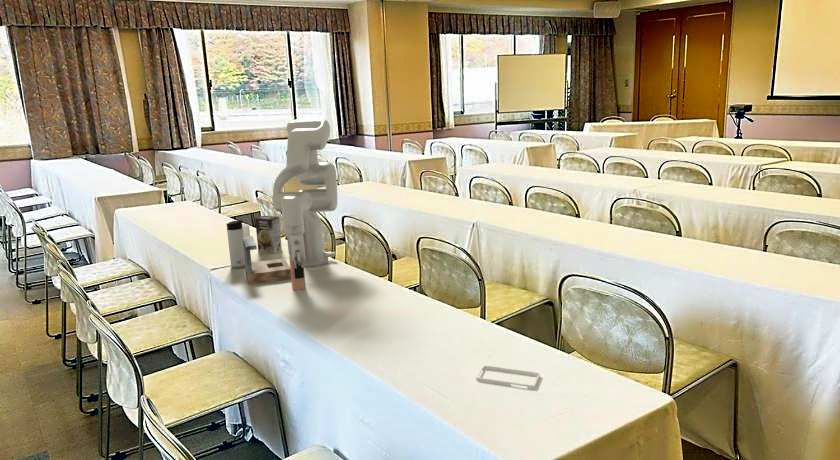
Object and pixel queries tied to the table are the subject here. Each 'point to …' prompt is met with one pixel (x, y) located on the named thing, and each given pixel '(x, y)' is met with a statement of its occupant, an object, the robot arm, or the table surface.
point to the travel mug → (236, 244)
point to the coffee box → (268, 234)
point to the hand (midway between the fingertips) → (297, 274)
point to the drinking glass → (246, 230)
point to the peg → (296, 282)
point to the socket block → (263, 266)
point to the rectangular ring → (506, 381)
